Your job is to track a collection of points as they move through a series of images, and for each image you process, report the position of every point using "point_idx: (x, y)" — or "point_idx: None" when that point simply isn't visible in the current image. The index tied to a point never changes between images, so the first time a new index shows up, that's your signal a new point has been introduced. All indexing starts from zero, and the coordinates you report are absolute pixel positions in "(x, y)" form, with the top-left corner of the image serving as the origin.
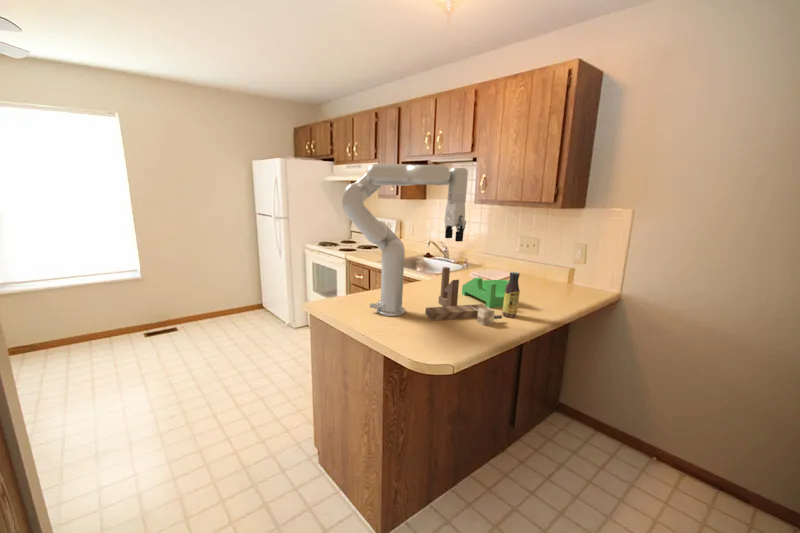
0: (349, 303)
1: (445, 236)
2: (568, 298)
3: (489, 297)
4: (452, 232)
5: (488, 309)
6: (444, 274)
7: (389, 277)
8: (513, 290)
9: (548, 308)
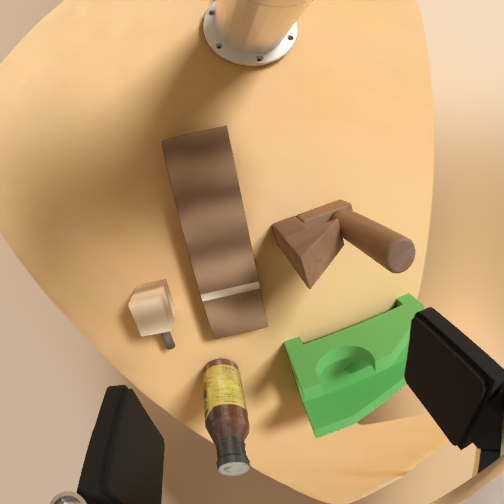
0: None
1: (429, 317)
2: (329, 472)
3: (296, 359)
4: (437, 422)
5: (150, 323)
6: (374, 237)
7: None
8: (207, 424)
9: (274, 444)
